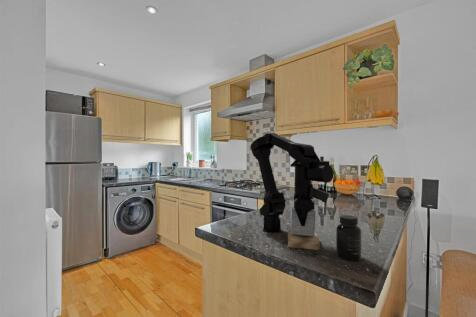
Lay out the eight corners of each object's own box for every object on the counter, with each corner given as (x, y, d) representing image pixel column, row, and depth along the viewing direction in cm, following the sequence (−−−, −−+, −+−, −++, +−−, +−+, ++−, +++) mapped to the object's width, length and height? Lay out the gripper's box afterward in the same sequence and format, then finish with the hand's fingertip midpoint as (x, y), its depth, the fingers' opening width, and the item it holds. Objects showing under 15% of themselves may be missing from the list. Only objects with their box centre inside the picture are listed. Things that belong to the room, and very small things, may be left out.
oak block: (287, 248, 74) (288, 239, 74) (288, 238, 84) (288, 230, 84) (319, 251, 72) (319, 242, 72) (316, 240, 82) (316, 232, 82)
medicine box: (313, 233, 79) (314, 209, 79) (314, 237, 75) (315, 211, 75) (290, 230, 81) (291, 206, 81) (290, 234, 77) (291, 209, 77)
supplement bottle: (331, 252, 70) (332, 214, 70) (352, 251, 71) (352, 213, 71) (344, 262, 63) (344, 220, 63) (366, 261, 64) (366, 219, 64)
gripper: (332, 183, 67) (331, 235, 67) (323, 178, 85) (323, 219, 85) (294, 182, 70) (293, 231, 70) (293, 177, 88) (293, 217, 88)
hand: (302, 224), depth 78 cm, fingers closed on medicine box, 4 cm apart
